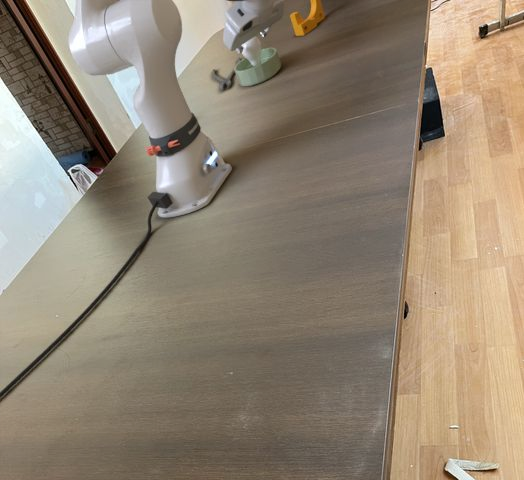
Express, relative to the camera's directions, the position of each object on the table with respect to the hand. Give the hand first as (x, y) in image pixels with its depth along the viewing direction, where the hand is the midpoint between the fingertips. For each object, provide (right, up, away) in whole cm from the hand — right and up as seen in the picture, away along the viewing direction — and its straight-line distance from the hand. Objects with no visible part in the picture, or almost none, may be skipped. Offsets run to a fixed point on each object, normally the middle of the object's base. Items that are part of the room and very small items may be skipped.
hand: (251, 43), depth 148 cm
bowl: (+3, -5, +8) cm, 10 cm away
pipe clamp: (+21, +19, +21) cm, 35 cm away
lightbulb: (+3, -5, +8) cm, 10 cm away
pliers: (-9, +1, +20) cm, 22 cm away
